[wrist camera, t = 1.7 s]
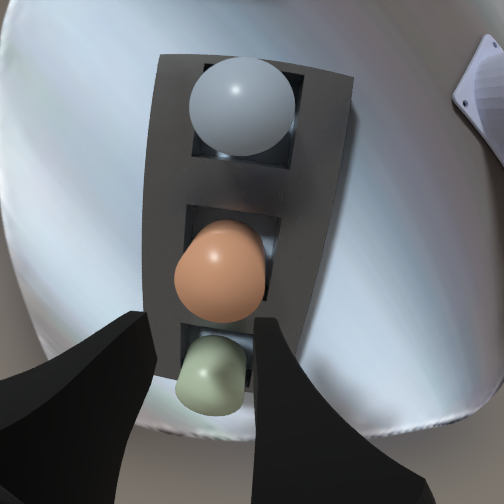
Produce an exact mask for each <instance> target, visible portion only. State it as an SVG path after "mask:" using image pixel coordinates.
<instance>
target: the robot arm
mask: <svg viewBox="0 0 504 504" xmlns="http://www.w3.org/2000/svg"><path fill="white" fill-rule="evenodd" d="M493 45H494V46H493ZM452 98H453V102H454V103H455V104H456V106H457V107H458V108H459V109H460V110H461V111H462V112H463V114H464V115H465V116H466V117H467V118H468V119H469V121H470V122H471V123H472V124H473V126H474V127H475V128H476V129H477V131H478V132H479V133H480V134H481V136H482V137H483V138H484V140H485V141H486V142H487V144H488V145H489V146H490V148H491V149H492V151H493V152H494V153H495V155H496V156H497V158H498V159H499V161H500V162H501V164H502V165H503V167H504V51H503V50H502V48H501V47H500V46H499V45H498V43H497V42H496V41H495V40H494V39H493V37H492V36H491V35H489V34H486V35H484V36H483V39H482V41H481V43H480V45H479V47H478V49H477V51H476V53H475V54H474V56H473V58H472V60H471V62H470V64H469V66H468V68H467V70H466V71H465V73H464V75H463V77H462V79H461V81H460V82H459V84H458V86H457V88H456V89H455V91H454V93H453V96H452ZM463 102H464V103H465V107H464V106H463ZM157 360H158V358H157V354H156V350H155V346H154V342H153V338H152V333H151V329H150V325H149V320H148V315H147V312H139V311H129V312H127V313H125V314H124V315H122V316H120V317H119V318H117V319H116V320H114V321H113V322H111V323H109V324H108V325H106V326H105V327H103V328H102V329H100V330H99V331H97V332H96V333H94V334H93V335H91V336H90V337H88V338H87V339H85V340H84V341H82V342H80V343H79V344H77V345H75V346H74V347H72V348H70V349H69V350H67V351H65V352H64V353H62V354H60V355H59V356H57V357H55V358H53V359H51V360H49V361H47V362H45V363H43V364H41V365H39V366H37V367H35V368H32V369H30V370H28V371H26V372H23V373H20V374H17V375H15V376H12V377H9V378H7V379H4V380H0V504H114V500H115V494H116V487H117V482H118V477H119V471H120V467H121V462H122V458H123V455H124V451H125V447H126V444H127V440H128V438H129V435H130V433H131V430H132V428H133V425H134V423H135V421H136V418H137V416H138V414H139V411H140V409H141V407H142V404H143V402H144V399H145V397H146V395H147V392H148V390H149V388H150V385H151V382H152V379H153V375H154V372H155V368H156V364H157ZM253 391H254V409H255V425H256V439H255V454H254V470H253V484H252V497H251V504H436V502H435V499H434V497H433V494H432V492H431V490H430V488H429V486H428V484H427V482H426V480H425V478H423V477H421V476H419V475H417V474H416V473H414V472H412V471H410V470H409V469H407V468H405V467H404V466H402V465H400V464H399V463H397V462H396V461H394V460H393V459H391V458H390V457H388V456H387V455H385V454H384V453H383V452H381V451H380V450H379V449H377V448H376V447H375V446H373V445H372V444H371V443H370V442H368V441H367V440H366V439H365V438H364V437H363V436H362V435H360V434H359V433H358V432H357V431H356V430H355V429H354V428H352V427H351V426H350V425H349V424H348V423H347V422H346V421H345V420H344V419H343V418H342V417H341V416H340V415H339V414H338V413H337V412H336V411H335V410H334V409H333V408H332V407H331V406H330V405H329V403H328V402H327V401H326V400H325V399H324V398H323V397H322V395H321V394H320V393H319V392H318V390H317V389H316V388H315V386H314V385H313V384H312V382H311V381H310V380H309V378H308V377H307V375H306V374H305V373H304V371H303V370H302V368H301V366H300V365H299V363H298V362H297V360H296V358H295V357H294V355H293V353H292V351H291V350H290V348H289V346H288V344H287V342H286V340H285V338H284V336H283V334H282V331H281V329H280V326H279V323H278V320H277V319H276V318H275V317H255V318H254V326H253Z"/></svg>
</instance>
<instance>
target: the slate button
mask: <svg viewBox="0 0 504 504" xmlns="http://www.w3.org/2000/svg"><path fill="white" fill-rule="evenodd" d="M189 113H190V118H191V122H192V125H193V127H194V129H195V131H196V132H197V134H198V135H199V137H200V138H201V139H202V140H203V141H204V142H205V143H206V144H207V145H209V146H210V147H212V148H213V149H215V150H217V151H219V152H221V153H225V154H228V155H233V156H249V155H255V154H258V153H261V152H263V151H266V150H268V149H269V148H271V147H273V146H274V145H275V144H277V143H278V142H279V141H280V140H281V139H282V138H283V137H284V135H285V134H286V133H287V131H288V130H289V128H290V126H291V123H292V121H293V117H294V113H295V99H294V94H293V91H292V88H291V86H290V84H289V82H288V80H287V79H286V78H285V76H284V75H283V74H282V73H281V72H280V71H279V70H278V69H277V68H275V67H274V66H272V65H271V64H269V63H267V62H265V61H263V60H259V59H256V58H250V57H235V58H230V59H227V60H224V61H221V62H219V63H217V64H215V65H213V66H212V67H210V68H209V69H208V70H207V71H205V72H204V73H203V74H202V76H201V77H200V78H199V79H198V81H197V82H196V84H195V86H194V88H193V90H192V93H191V97H190V103H189Z"/></svg>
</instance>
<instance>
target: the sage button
mask: <svg viewBox="0 0 504 504" xmlns="http://www.w3.org/2000/svg"><path fill="white" fill-rule="evenodd" d="M246 364H247V357H246V354H245V351H244V350H243V348H242V347H241V346H240V345H239V344H238V343H236V342H235V341H233V340H231V339H229V338H227V337H223V336H218V335H207V336H202V337H200V338H198V339H196V340H194V341H193V342H192V343H191V345H190V346H189V348H188V351H187V354H186V357H185V360H184V363H183V366H182V369H181V372H180V375H179V378H178V381H177V384H176V387H175V392H176V395H177V397H178V399H179V400H180V402H181V403H182V404H183V405H184V406H186V407H187V408H189V409H190V410H192V411H194V412H197V413H199V414H203V415H207V416H225V415H229V414H232V413H234V412H235V411H237V410H238V409H239V408H240V407H241V406H242V403H243V397H244V386H245V375H246Z"/></svg>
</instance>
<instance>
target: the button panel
mask: <svg viewBox="0 0 504 504" xmlns="http://www.w3.org/2000/svg"><path fill="white" fill-rule="evenodd" d="M230 58H235V56H222V55H200V54H162V55H160V57H159V62H158V68H157V73H156V79H155V85H154V92H153V98H152V105H151V113H150V121H149V129H148V138H147V148H146V160H145V173H144V188H143V210H142V289H143V311H144V312H147V315H148V320H149V325H150V329H151V333H152V338H153V342H154V346H155V350H156V354H157V358H158V360H157V364H156V368H155V372H154V375H156V376H160V377H164V378H169V379H174V380H178V378H179V375H180V372H181V369H182V366H183V363H184V360H185V357H186V354H187V324H191V325H197V326H203V327H209V328H215V329H221V330H227V331H234V332H241V333H248V334H253V326H254V318H255V317H275V318H276V319H277V320H278V323H279V326H280V329H281V331H282V334H283V336H284V338H285V340H286V342H287V344H288V346H289V348H290V350H291V351H292V353H293V355H295V352H296V349H297V345H298V342H299V339H300V335H301V332H302V328H303V325H304V321H305V318H306V314H307V310H308V307H309V303H310V299H311V295H312V292H313V288H314V284H315V280H316V276H317V272H318V268H319V264H320V260H321V256H322V251H323V247H324V243H325V239H326V234H327V230H328V225H329V221H330V216H331V211H332V207H333V202H334V197H335V192H336V187H337V182H338V176H339V171H340V166H341V160H342V155H343V149H344V143H345V137H346V131H347V124H348V118H349V111H350V104H351V97H352V89H353V81H354V77H350V76H346V75H343V74H339V73H334V72H330V71H326V70H321V69H317V68H312V67H307V66H302V65H296V64H291V63H284V62H278V61H271V60H264V59H259V60H263V61H265V62H267V63H269V64H271V65H272V66H274V67H275V68H277V69H278V70H279V71H280V72H281V73H282V74H283V75H284V76H285V78H286V79H287V80H289V81H294V82H300V87H299V94H298V100H297V107H296V114H295V120H294V127H293V133H292V139H291V146H290V152H289V158H288V164H287V166H281V165H275V164H268V163H262V162H255V161H248V160H240V159H232V158H224V157H216V156H206V155H200V148H201V140H202V139H201V138H200V137H199V135H198V134H197V132H196V131H195V129H194V127H193V125H192V122H191V118H190V113H189V103H190V97H191V93H192V90H193V88H194V86H195V84H196V82H197V81H198V79H199V78H200V77H201V76H202V74H203V73H204V72H205V71H207V70H208V69H209V68H210V67H212V66H213V65H215V64H217V63H219V62H221V61H224V60H227V59H230ZM194 205H198V206H205V207H213V208H220V209H227V210H235V211H242V212H248V213H255V214H262V215H269V216H275V217H279V218H278V224H277V230H276V235H275V241H274V247H273V252H272V258H271V263H270V269H269V274H268V280H267V285H265V290H264V295H263V298H262V301H261V303H260V304H259V306H258V307H257V308H256V310H255V311H254V312H252V313H251V314H250V315H249V316H247V317H245V318H243V319H241V320H238V321H235V322H230V323H216V322H211V321H207V320H204V319H202V318H200V317H198V316H196V315H195V314H193V313H192V312H191V311H189V310H188V309H187V308H186V307H185V305H184V304H183V303H182V301H181V300H180V298H179V296H178V294H177V292H176V288H175V283H174V276H175V270H176V267H177V264H178V262H179V261H180V259H181V257H182V256H183V254H184V253H185V252H186V250H187V249H188V247H189V246H190V244H191V240H192V227H193V215H194ZM244 392H252V393H254V391H253V359H252V364H251V369H246V375H245V386H244Z"/></svg>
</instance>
